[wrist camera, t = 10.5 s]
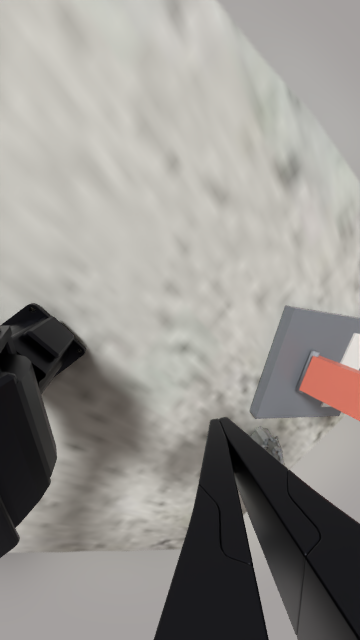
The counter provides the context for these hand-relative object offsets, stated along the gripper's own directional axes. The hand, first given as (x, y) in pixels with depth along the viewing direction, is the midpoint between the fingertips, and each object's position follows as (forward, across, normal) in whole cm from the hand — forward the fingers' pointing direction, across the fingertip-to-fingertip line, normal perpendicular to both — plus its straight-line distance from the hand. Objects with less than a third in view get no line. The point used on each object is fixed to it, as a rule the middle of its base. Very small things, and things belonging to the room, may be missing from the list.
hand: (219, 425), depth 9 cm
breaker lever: (+13, +15, -9) cm, 22 cm away
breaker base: (+16, +17, -10) cm, 25 cm away
